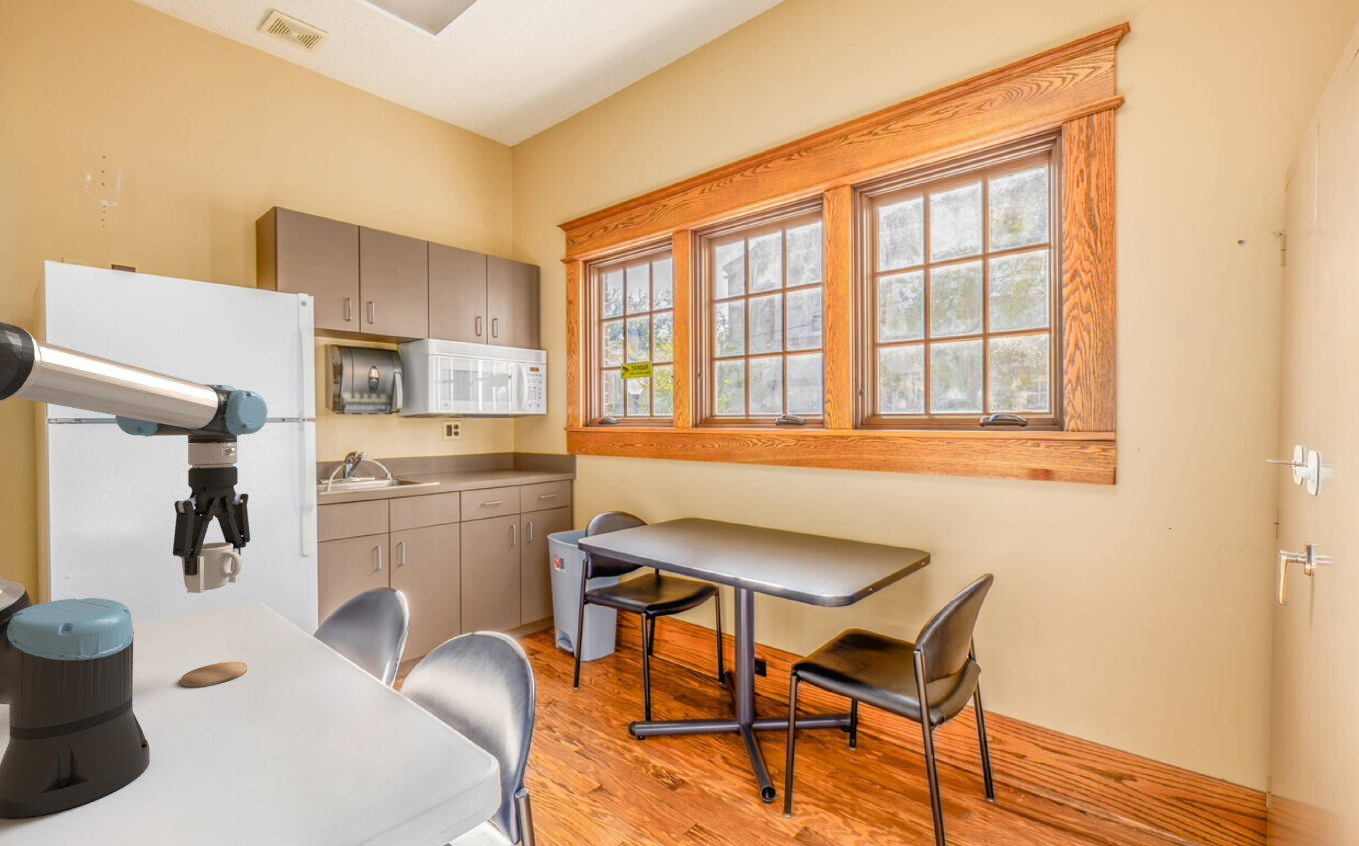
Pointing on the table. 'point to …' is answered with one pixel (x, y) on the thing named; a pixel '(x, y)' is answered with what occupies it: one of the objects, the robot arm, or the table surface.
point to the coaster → (213, 674)
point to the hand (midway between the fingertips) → (213, 586)
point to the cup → (217, 564)
